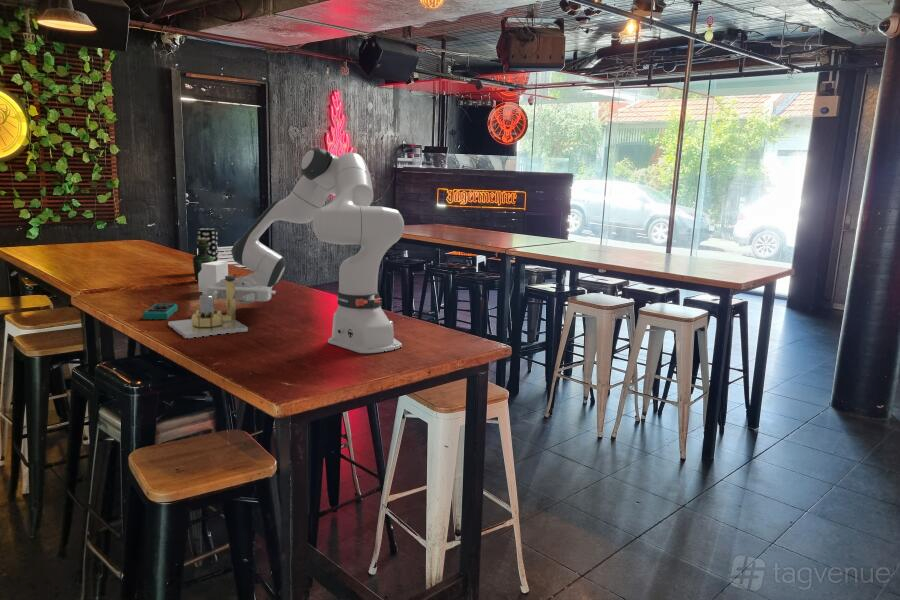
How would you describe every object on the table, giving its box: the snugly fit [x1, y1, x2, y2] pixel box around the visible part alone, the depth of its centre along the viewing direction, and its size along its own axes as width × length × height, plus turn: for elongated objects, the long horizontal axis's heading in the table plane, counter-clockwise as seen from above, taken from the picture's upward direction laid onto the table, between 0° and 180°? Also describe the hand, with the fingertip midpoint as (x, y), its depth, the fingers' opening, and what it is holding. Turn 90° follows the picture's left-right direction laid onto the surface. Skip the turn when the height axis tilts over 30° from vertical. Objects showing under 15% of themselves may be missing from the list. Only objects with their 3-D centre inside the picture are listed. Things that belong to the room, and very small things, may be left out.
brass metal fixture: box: [191, 275, 237, 327], centre depth 196 cm, size 14×8×14 cm, turn 146°
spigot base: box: [167, 294, 249, 340], centre depth 195 cm, size 20×18×10 cm
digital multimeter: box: [142, 302, 179, 321], centre depth 210 cm, size 7×15×3 cm, turn 10°
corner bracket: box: [197, 260, 229, 295], centre depth 246 cm, size 11×11×12 cm
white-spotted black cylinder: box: [196, 227, 219, 262], centre depth 287 cm, size 8×8×20 cm
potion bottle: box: [192, 238, 213, 281], centre depth 268 cm, size 8×8×18 cm
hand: (229, 297), depth 199 cm, fingers open, 8 cm apart
